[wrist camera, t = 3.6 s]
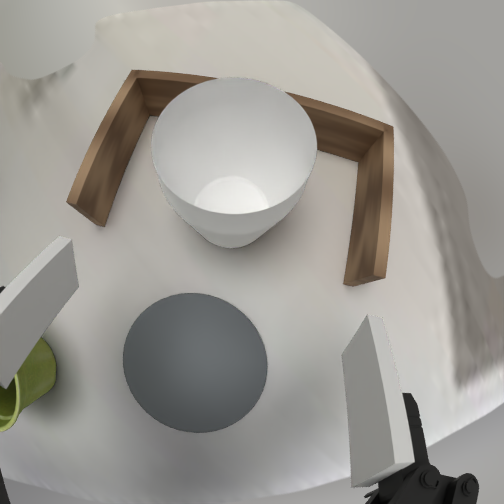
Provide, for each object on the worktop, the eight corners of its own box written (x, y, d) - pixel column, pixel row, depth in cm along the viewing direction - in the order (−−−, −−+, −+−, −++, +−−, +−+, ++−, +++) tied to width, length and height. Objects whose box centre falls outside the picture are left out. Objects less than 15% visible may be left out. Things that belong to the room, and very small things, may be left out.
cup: (302, 208, 27) (350, 137, 15) (235, 284, 25) (241, 258, 13) (228, 148, 28) (230, 56, 16) (159, 215, 26) (114, 145, 14)
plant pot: (38, 296, 23) (-20, 286, 15) (90, 380, 22) (38, 402, 14) (-8, 346, 22) (-63, 348, 13) (37, 423, 21) (-13, 447, 12)
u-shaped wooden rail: (353, 286, 26) (385, 278, 20) (95, 224, 25) (66, 202, 19) (367, 157, 29) (393, 126, 23) (144, 107, 28) (132, 69, 22)
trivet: (99, 360, 23) (97, 361, 22) (190, 263, 25) (189, 262, 25) (200, 454, 22) (200, 456, 21) (295, 360, 24) (297, 362, 24)
